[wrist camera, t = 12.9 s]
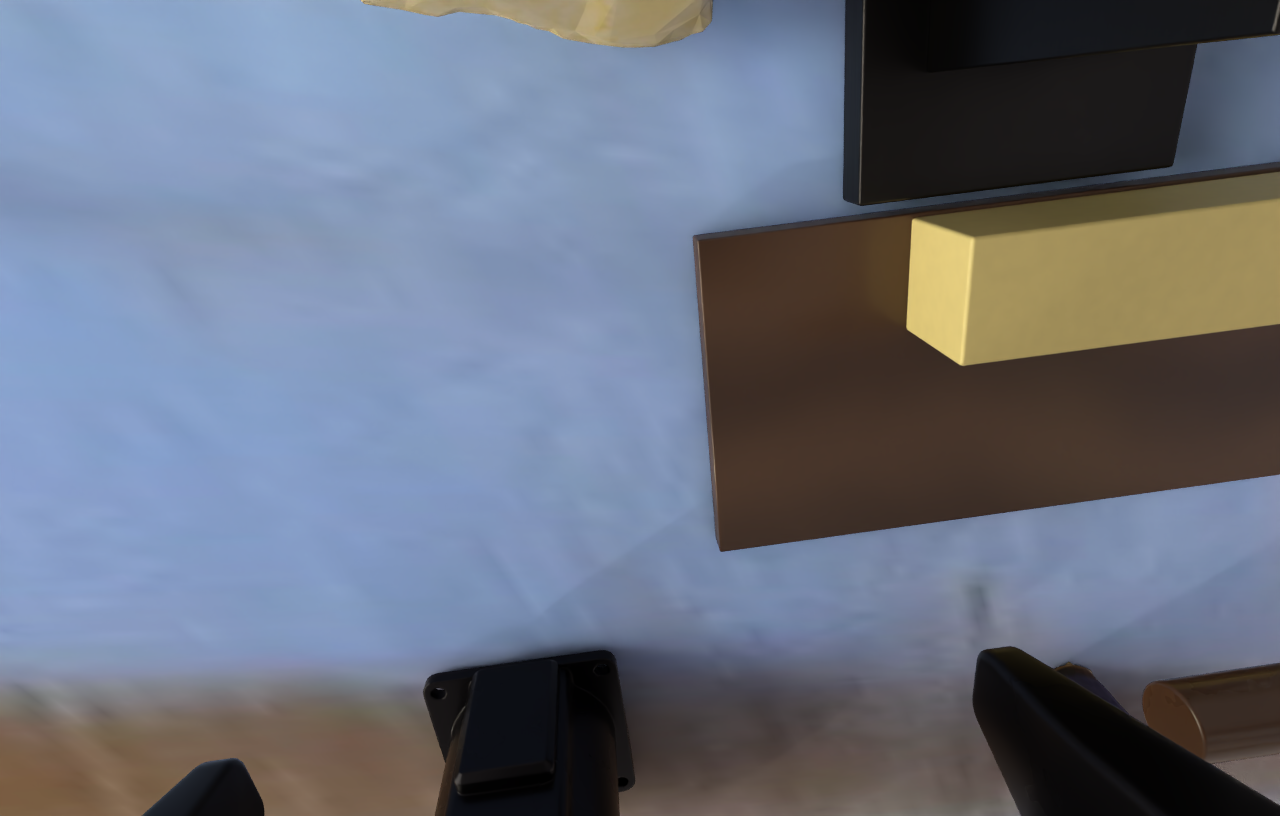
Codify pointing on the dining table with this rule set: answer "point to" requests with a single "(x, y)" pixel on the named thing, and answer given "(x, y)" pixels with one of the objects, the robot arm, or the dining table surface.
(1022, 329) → the butter
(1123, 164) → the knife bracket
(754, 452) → the butter board
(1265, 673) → the grey brown t-shaped piece
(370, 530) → the dining table surface
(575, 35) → the cheese
